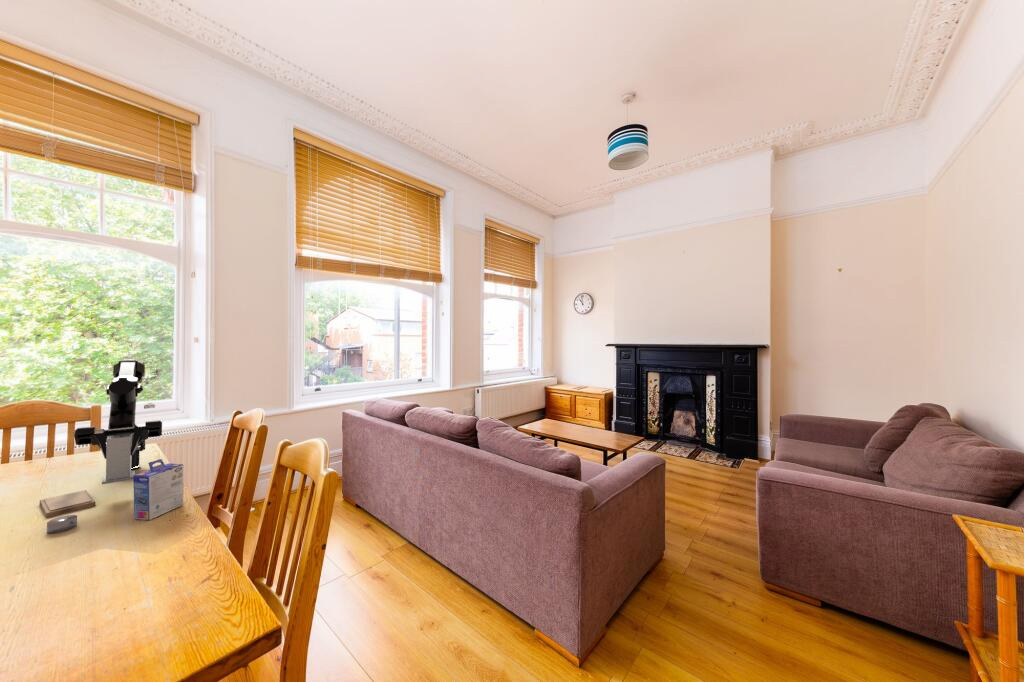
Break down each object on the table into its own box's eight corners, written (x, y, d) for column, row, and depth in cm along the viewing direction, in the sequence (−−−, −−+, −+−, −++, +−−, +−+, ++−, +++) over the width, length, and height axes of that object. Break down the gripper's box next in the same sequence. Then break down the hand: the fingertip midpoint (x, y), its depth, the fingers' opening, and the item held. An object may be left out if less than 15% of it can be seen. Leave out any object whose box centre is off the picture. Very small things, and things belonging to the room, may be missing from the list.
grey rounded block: (75, 522, 100) (75, 513, 100) (78, 528, 97) (79, 518, 97) (45, 530, 96) (45, 520, 96) (48, 536, 93) (48, 526, 93)
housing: (104, 477, 114) (105, 435, 114) (134, 472, 118) (135, 431, 118) (101, 484, 109) (102, 440, 109) (133, 479, 114) (134, 436, 113)
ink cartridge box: (168, 503, 112) (168, 455, 112) (184, 504, 111) (185, 456, 111) (131, 519, 102) (132, 466, 102) (149, 521, 101) (150, 467, 101)
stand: (86, 493, 116) (86, 489, 116) (95, 505, 109) (95, 500, 109) (39, 504, 109) (39, 499, 109) (46, 517, 101) (46, 512, 101)
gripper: (162, 423, 131) (161, 463, 123) (81, 431, 119) (74, 476, 111) (162, 404, 125) (161, 445, 117) (77, 410, 113) (70, 457, 105)
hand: (118, 456), depth 113 cm, fingers closed on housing, 5 cm apart
